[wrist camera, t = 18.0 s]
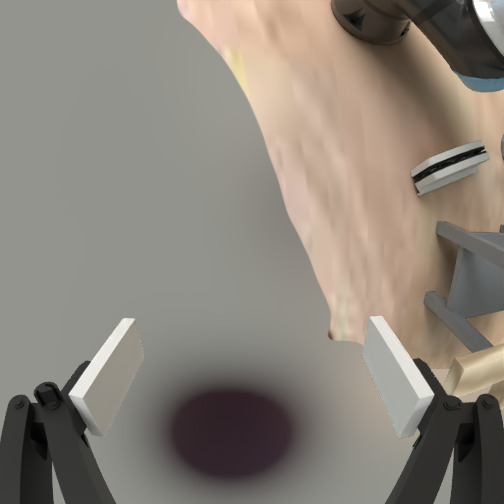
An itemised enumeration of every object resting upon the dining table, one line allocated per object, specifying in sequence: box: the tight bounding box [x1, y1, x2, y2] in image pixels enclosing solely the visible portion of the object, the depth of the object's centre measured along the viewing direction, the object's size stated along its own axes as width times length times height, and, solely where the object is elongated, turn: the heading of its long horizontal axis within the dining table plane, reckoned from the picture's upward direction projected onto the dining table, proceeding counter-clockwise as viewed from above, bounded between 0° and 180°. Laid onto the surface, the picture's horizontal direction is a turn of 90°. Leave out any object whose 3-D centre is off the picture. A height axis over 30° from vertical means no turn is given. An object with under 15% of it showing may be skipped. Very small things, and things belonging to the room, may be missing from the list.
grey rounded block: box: [411, 141, 490, 196], centre depth 40 cm, size 17×5×10 cm, turn 113°
